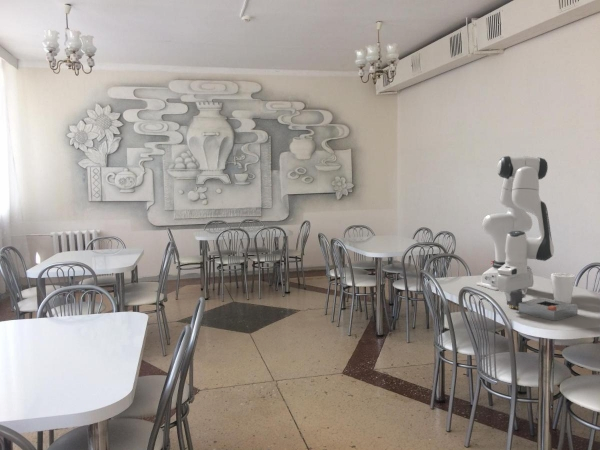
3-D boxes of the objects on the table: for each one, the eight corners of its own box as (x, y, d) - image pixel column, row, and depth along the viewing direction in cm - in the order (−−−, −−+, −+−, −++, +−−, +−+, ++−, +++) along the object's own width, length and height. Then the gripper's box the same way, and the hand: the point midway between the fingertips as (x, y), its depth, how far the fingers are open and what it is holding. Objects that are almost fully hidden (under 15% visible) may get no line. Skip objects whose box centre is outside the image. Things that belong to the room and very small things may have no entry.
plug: (506, 307, 214) (507, 291, 214) (513, 306, 216) (513, 289, 216) (515, 309, 211) (515, 293, 210) (522, 308, 213) (522, 291, 212)
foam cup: (564, 306, 213) (564, 277, 212) (546, 302, 221) (546, 274, 220) (579, 303, 217) (579, 275, 216) (560, 299, 225) (561, 272, 224)
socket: (518, 312, 207) (518, 300, 207) (541, 306, 215) (542, 295, 215) (554, 320, 193) (554, 308, 193) (577, 314, 201) (577, 302, 201)
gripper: (524, 264, 219) (524, 294, 221) (494, 269, 209) (494, 301, 210) (537, 266, 214) (537, 297, 215) (507, 272, 204) (507, 304, 205)
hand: (516, 299), depth 213 cm, fingers open, 8 cm apart
